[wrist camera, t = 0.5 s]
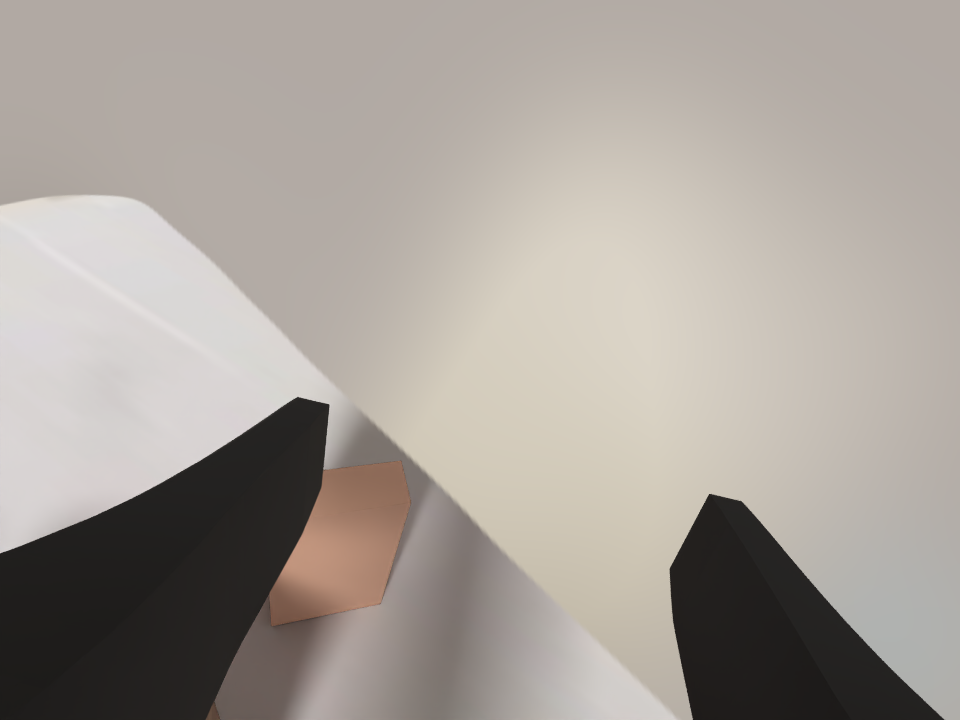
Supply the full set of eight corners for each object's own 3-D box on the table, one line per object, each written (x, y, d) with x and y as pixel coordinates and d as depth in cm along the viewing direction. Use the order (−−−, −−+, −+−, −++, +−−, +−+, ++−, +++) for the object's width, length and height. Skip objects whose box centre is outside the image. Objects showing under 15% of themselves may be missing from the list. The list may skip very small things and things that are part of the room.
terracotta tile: (380, 603, 29) (411, 502, 22) (271, 626, 28) (266, 523, 20) (374, 568, 30) (401, 460, 23) (268, 587, 29) (263, 477, 22)
